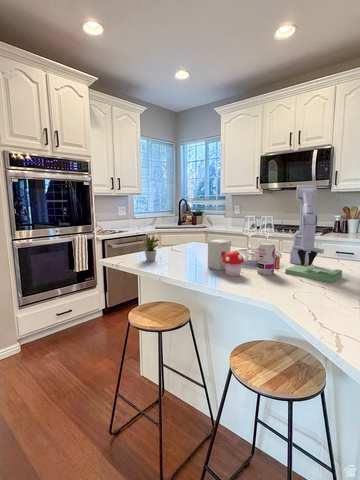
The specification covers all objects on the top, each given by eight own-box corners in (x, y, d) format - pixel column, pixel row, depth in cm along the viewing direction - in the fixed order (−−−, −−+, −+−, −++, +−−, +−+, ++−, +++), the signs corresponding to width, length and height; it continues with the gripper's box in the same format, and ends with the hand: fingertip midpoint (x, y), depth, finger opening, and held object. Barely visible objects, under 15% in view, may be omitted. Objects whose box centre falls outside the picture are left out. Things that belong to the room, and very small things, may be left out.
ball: (303, 266, 135) (309, 263, 132) (307, 264, 137) (313, 261, 134) (307, 272, 134) (313, 270, 132) (310, 270, 136) (317, 268, 134)
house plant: (161, 263, 160) (161, 235, 157) (138, 263, 160) (137, 236, 158) (163, 257, 174) (163, 232, 171) (141, 258, 174) (141, 232, 172)
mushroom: (239, 278, 130) (239, 254, 128) (218, 275, 135) (218, 251, 133) (246, 273, 139) (247, 250, 137) (226, 270, 144) (226, 248, 142)
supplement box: (219, 270, 143) (220, 242, 141) (207, 267, 150) (207, 240, 148) (230, 267, 149) (231, 240, 147) (218, 264, 156) (218, 238, 154)
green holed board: (285, 273, 138) (285, 266, 138) (296, 268, 146) (296, 262, 146) (332, 282, 122) (332, 275, 122) (341, 277, 130) (342, 270, 130)
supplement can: (274, 271, 141) (276, 243, 138) (272, 276, 133) (274, 245, 131) (258, 270, 144) (259, 242, 142) (255, 274, 137) (256, 244, 134)
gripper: (290, 237, 136) (288, 264, 138) (320, 241, 126) (318, 269, 127) (296, 236, 141) (295, 262, 143) (326, 239, 130) (324, 267, 132)
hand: (306, 265), depth 135 cm, fingers open, 3 cm apart
